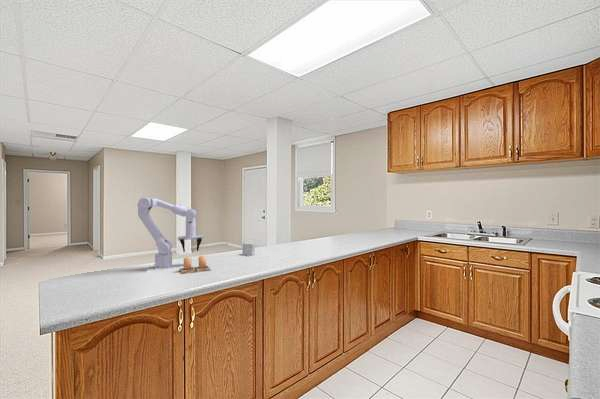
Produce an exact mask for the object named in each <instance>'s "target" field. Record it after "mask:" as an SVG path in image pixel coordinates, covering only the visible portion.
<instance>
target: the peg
mask: <svg viewBox="0 0 600 399" xmlns="http://www.w3.org/2000/svg"><path fill="white" fill-rule="evenodd" d="M191 267H192V257H184V258H183V268H184V271H185V270H191Z"/></svg>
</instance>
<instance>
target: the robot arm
mask: <svg viewBox="0 0 600 399" xmlns="http://www.w3.org/2000/svg"><path fill="white" fill-rule="evenodd" d="M153 207H160V208H164V209H167V210H169V211H172V214H174V215H178V216H180V217H185V235H184V236H177V241H179V242H180V244H181V247H182V251H183V253H185V252H186V249H185V244H186V243H185V240H187V241H189V240H196V251H197V252H199V249H200V246H201V243H202V240H203V239H204V235H202V234H200V235H197V228H196V227H197V226H196V225H197V222H196V215H197V212H196V210H194V209H193V208H190V207H185V206H183V205H182V203H179V204H172V203H169V202H166V201H164V200H161V199H159V198H154V197H150V196H149V197H148V196H147V197H146V196H143V197H141V198H140V199H138V203H137V209H138V210H137V216H138V218H139V219H140V220H141V222H142V224H143V225H144V227H145V228H146V229H147V231H148V232H149V234H150V235H151V236H152V238H153V239H154V241H155V244H156V247H157V250H158V253H155V254H154V265H153V266H154V269H155V270H156V269H157V270H158V269H168V268H171V267H173V252H172V248H173V243H172V242H171V241H169V240H168V239H167V238H166V237H165V236H164V235H163V234H162V232H161V230H160V229H159V227H158V226H157V224H156V223H155V221H154V220H153V218H152V217H151V215H150V211H151V210H152V208H153Z"/></svg>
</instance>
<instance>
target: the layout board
mask: <svg viewBox="0 0 600 399" xmlns="http://www.w3.org/2000/svg"><path fill="white" fill-rule="evenodd" d="M211 271H212V269H211V267H210V266H209V264H208V265H207V264H206V268H203V269H199V265H196V266H191V270H185V271H184V267H180V268H179V274H180V275H187V274H195V273H202V272H211Z"/></svg>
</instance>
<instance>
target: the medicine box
mask: <svg viewBox="0 0 600 399" xmlns="http://www.w3.org/2000/svg"><path fill="white" fill-rule="evenodd" d="M255 244H256V243H255V242H243V243H242V245H241V246H242V256H250V257H252V256H255V255H256V251H255V250H256V248H255V247H256V246H255Z"/></svg>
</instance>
